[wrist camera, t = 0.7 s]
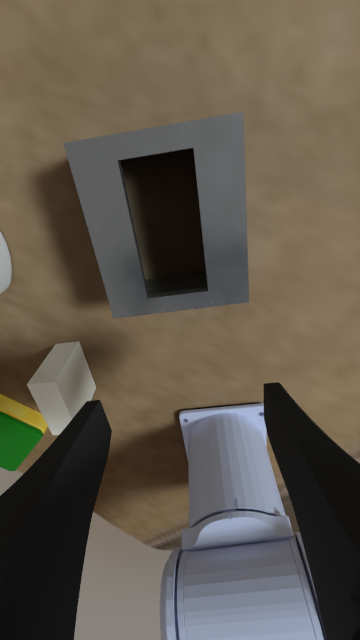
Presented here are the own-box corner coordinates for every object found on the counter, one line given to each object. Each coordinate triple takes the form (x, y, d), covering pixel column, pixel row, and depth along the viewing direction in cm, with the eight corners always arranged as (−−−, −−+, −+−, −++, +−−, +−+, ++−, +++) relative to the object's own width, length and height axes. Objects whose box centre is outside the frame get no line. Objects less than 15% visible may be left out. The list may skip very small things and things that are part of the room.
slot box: (236, 274, 20) (248, 302, 16) (127, 288, 21) (113, 318, 17) (228, 124, 16) (243, 111, 12) (92, 148, 17) (63, 143, 13)
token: (96, 387, 26) (78, 432, 21) (74, 389, 26) (52, 435, 22) (79, 341, 23) (55, 381, 19) (55, 343, 24) (26, 384, 19)
